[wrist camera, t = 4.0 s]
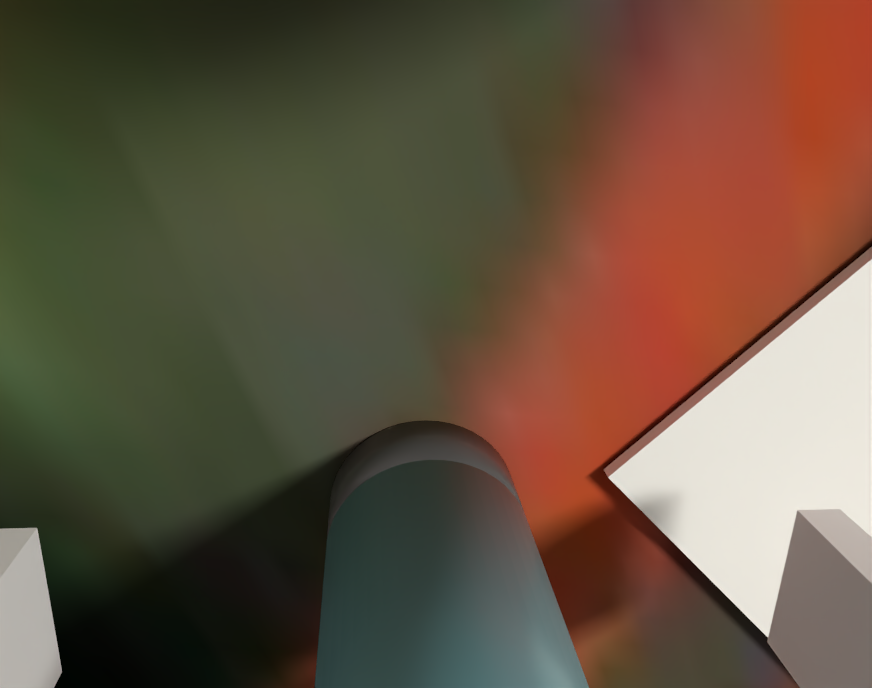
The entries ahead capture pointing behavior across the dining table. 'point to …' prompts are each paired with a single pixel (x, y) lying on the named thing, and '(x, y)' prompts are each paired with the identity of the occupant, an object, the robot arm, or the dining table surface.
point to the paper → (766, 446)
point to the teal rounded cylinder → (436, 572)
